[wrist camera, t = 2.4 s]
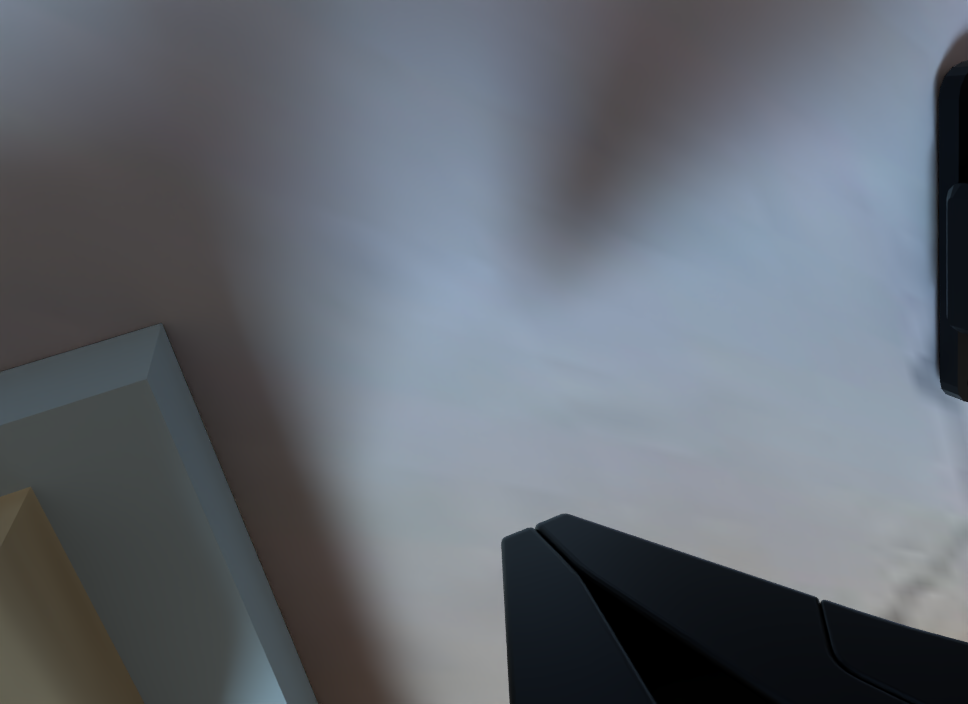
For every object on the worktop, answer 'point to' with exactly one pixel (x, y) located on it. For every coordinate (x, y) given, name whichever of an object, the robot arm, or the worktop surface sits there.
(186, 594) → the board
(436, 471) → the worktop surface
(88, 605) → the block
